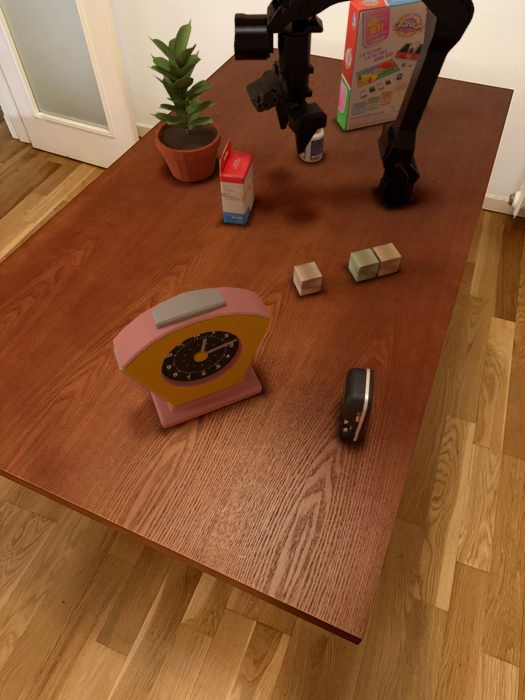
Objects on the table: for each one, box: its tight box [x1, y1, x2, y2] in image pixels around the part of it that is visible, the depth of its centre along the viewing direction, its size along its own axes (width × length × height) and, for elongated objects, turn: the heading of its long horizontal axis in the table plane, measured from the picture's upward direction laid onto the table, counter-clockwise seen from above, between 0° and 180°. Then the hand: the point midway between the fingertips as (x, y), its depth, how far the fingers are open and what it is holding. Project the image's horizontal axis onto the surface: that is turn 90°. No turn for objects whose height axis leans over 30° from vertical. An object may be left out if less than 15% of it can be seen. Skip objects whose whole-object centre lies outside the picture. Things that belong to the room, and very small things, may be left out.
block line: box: [292, 242, 402, 297], centre depth 95 cm, size 20×4×4 cm, turn 108°
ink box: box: [219, 137, 255, 226], centre depth 102 cm, size 8×5×15 cm, turn 168°
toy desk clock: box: [112, 286, 272, 429], centre depth 73 cm, size 22×9×22 cm, turn 114°
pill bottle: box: [299, 128, 325, 163], centre depth 116 cm, size 5×5×9 cm
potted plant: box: [147, 19, 222, 183], centre depth 105 cm, size 15×15×30 cm
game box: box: [336, 0, 428, 132], centre depth 118 cm, size 21×6×27 cm, turn 108°
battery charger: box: [340, 367, 375, 442], centre depth 74 cm, size 7×4×11 cm, turn 170°
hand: (291, 140), depth 100 cm, fingers open, 9 cm apart
